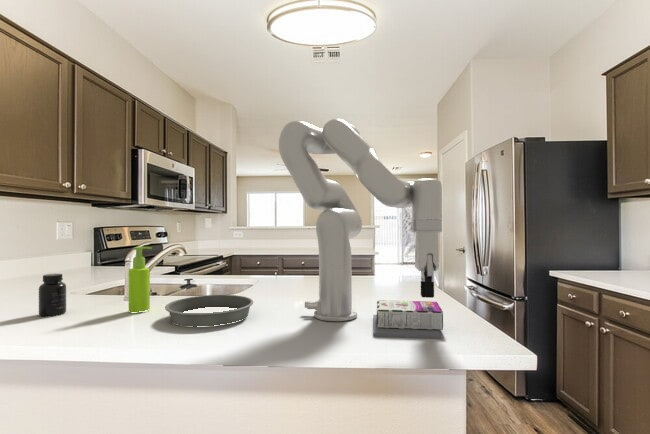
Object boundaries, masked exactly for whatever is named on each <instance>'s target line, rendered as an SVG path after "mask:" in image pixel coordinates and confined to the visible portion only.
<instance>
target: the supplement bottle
mask: <svg viewBox="0 0 650 434" xmlns="http://www.w3.org/2000/svg"><path fill="white" fill-rule="evenodd" d="M63 280H64V279H63V274H62V273H47V274H44V275H42V282H43V283H41V285H39V287H38V315H39V316H40V317H43V318H49V317H48V316H51V317H57V316H56V315H58V316H60V315H61V314H62V315H64V314H65V313H66V312H67V285H66V283H65V282H63ZM62 315H61V316H62ZM46 316H47V317H46Z"/></svg>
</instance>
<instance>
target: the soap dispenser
mask: <svg viewBox="0 0 650 434" xmlns="http://www.w3.org/2000/svg"><path fill="white" fill-rule="evenodd" d="M132 249H133V250H135V253H136V255H135V257H133V258H132V265H133V266H132V268H130V269H128V312H129V311H130V312H139V311H145V310H148V309H150V308H151V306H150V305H151V304H150V300H151V299H150V298H151V297H150V296H151V295H150V289H151V288H150V279H151V278H150V277H151V273H150V271H151V270H150V268H149V267H146V258H145V257H144V256H143V250H145V249H146V250H147V249H148V250H152V249H153V247H151V246H135V247H133V248H132Z"/></svg>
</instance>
